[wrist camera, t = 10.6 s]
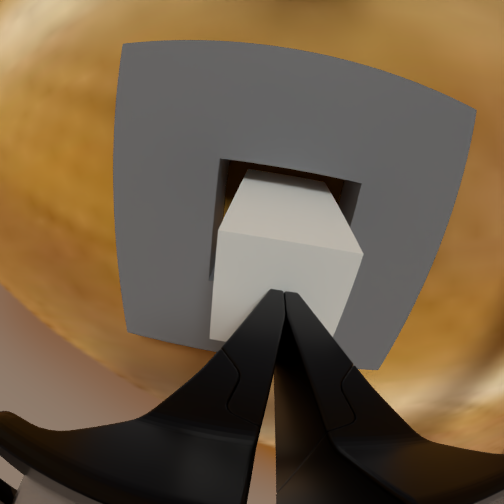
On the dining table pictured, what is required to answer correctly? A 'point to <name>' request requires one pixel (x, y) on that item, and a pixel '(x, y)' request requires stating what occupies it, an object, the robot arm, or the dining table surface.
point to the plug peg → (282, 250)
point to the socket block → (280, 155)
